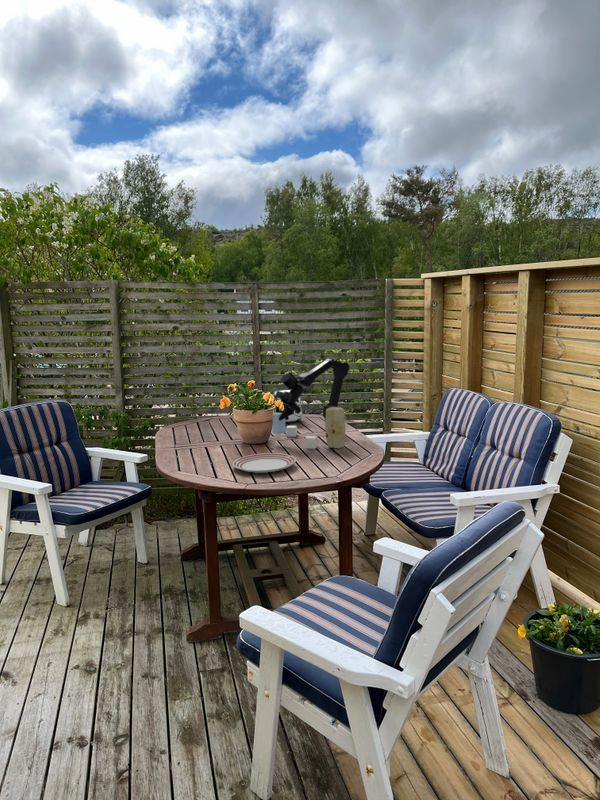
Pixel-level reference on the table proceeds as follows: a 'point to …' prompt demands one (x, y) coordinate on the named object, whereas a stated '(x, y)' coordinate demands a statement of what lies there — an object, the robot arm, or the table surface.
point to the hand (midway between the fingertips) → (276, 419)
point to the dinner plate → (264, 462)
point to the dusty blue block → (278, 424)
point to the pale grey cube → (291, 431)
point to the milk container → (295, 416)
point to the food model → (335, 427)
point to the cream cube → (311, 441)
